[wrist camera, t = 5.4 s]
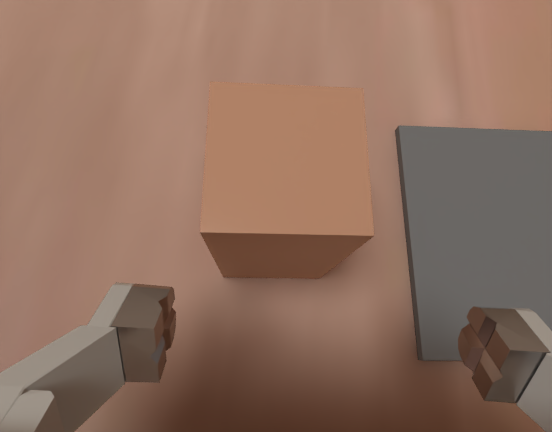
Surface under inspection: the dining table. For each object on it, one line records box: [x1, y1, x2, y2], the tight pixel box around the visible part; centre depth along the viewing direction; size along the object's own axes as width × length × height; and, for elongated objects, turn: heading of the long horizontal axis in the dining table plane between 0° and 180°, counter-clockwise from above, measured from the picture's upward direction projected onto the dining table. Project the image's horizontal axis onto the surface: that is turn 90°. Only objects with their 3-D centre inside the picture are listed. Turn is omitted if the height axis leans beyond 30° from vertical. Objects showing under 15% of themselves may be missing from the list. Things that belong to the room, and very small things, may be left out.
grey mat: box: [395, 126, 552, 360], centre depth 22 cm, size 14×14×1 cm
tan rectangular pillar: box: [200, 82, 374, 279], centre depth 17 cm, size 5×5×10 cm
